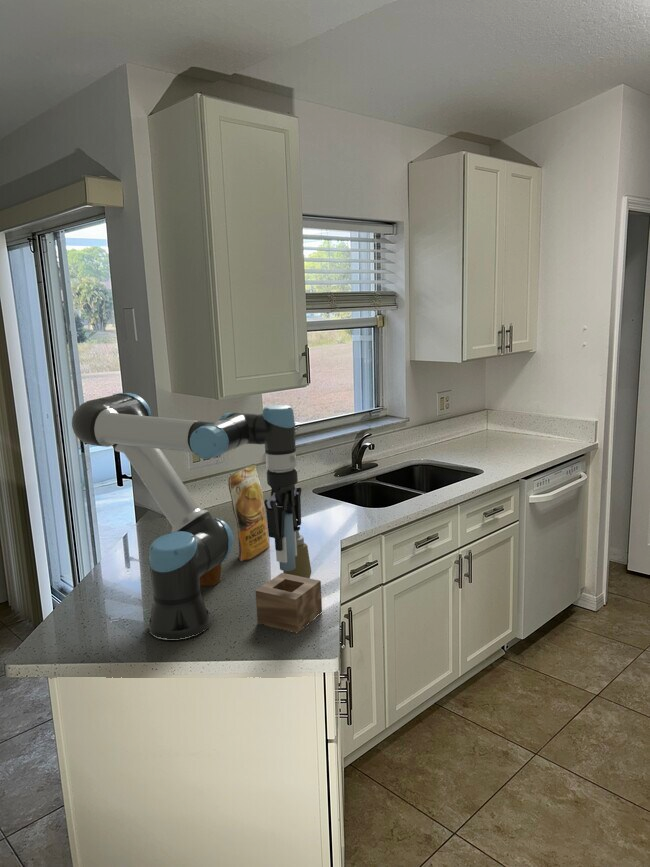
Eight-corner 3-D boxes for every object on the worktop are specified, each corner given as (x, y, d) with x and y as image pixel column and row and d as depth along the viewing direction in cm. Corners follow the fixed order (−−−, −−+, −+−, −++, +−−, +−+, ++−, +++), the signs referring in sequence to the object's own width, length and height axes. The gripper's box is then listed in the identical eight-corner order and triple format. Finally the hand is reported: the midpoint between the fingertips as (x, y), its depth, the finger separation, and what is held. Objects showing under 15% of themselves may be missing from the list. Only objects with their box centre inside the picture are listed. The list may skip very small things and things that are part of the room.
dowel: (290, 572, 167) (286, 518, 165) (276, 569, 169) (273, 516, 167) (298, 566, 171) (295, 513, 168) (285, 563, 173) (282, 511, 170)
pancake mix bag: (226, 561, 212) (220, 475, 206) (259, 541, 228) (254, 461, 223) (244, 564, 209) (238, 477, 203) (276, 543, 225) (271, 462, 220)
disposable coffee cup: (194, 590, 192) (191, 550, 189) (191, 577, 201) (188, 539, 198) (227, 585, 194) (225, 546, 192) (223, 573, 203) (220, 535, 201)
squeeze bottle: (296, 576, 198) (293, 518, 195) (317, 583, 193) (315, 523, 189) (278, 586, 192) (274, 526, 188) (299, 593, 187) (295, 532, 183)
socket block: (297, 633, 165) (295, 599, 163) (257, 623, 171) (255, 590, 169) (322, 612, 175) (320, 580, 173) (283, 604, 181) (281, 572, 179)
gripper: (274, 478, 156) (280, 573, 161) (312, 461, 170) (316, 548, 175) (248, 475, 160) (255, 568, 164) (287, 459, 174) (292, 544, 179)
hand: (287, 558), depth 170 cm, fingers closed on dowel, 4 cm apart
